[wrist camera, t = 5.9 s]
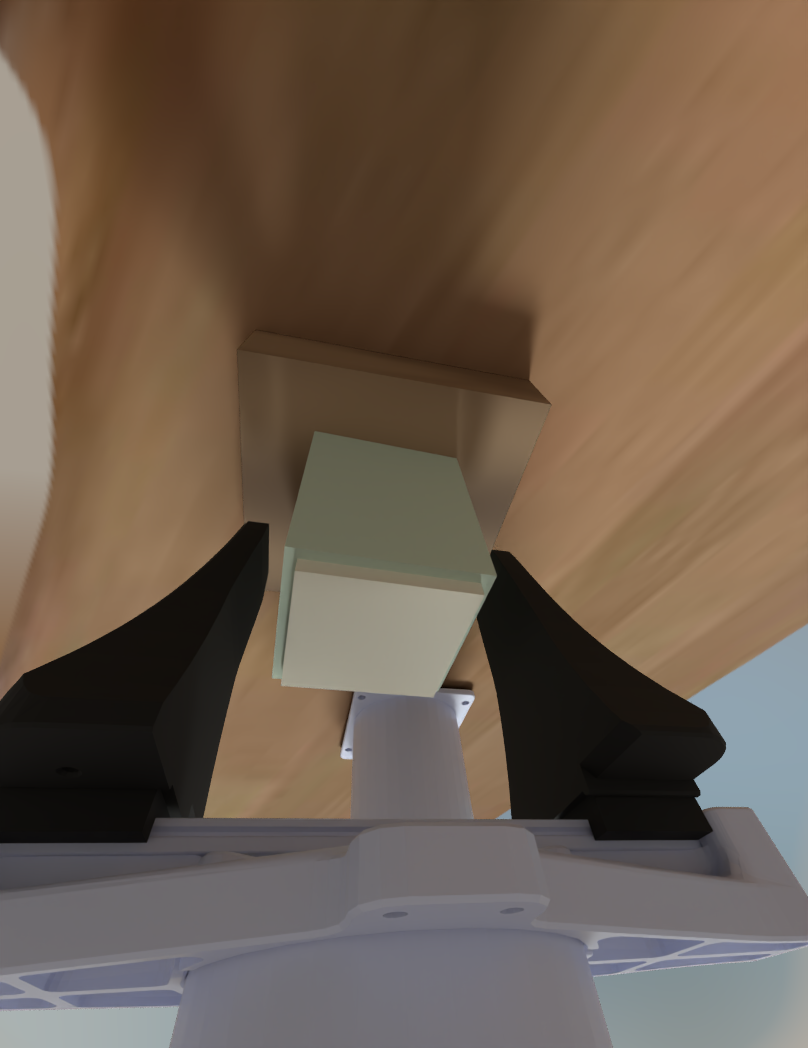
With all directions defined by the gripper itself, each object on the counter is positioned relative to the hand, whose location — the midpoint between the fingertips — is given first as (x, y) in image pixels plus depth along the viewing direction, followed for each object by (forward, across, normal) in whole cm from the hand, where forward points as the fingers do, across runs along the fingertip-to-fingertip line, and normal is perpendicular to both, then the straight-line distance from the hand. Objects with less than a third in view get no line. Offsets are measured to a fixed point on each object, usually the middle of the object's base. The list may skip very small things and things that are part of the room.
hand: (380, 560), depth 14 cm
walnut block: (+6, 0, 0) cm, 6 cm away
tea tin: (+3, 0, 0) cm, 3 cm away
